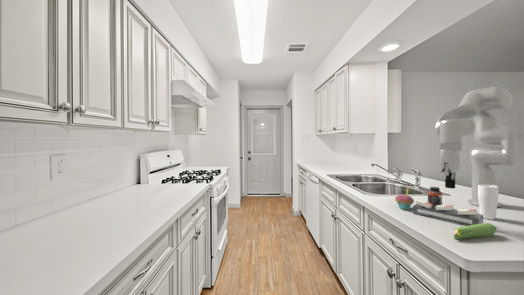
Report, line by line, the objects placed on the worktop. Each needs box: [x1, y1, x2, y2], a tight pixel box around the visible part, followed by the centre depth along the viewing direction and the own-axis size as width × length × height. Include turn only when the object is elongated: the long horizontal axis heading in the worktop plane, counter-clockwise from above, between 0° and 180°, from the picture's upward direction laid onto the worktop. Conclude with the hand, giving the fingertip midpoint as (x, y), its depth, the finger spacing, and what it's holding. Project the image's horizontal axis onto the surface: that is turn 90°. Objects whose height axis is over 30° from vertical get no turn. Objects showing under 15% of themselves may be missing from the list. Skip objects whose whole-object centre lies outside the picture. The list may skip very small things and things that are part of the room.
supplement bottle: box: [427, 186, 443, 206], centre depth 120 cm, size 6×6×11 cm
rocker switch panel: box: [412, 203, 484, 227], centre depth 105 cm, size 8×24×4 cm, turn 35°
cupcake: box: [394, 186, 415, 211], centre depth 121 cm, size 9×8×12 cm
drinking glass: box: [478, 184, 500, 221], centre depth 104 cm, size 7×7×15 cm
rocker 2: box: [435, 204, 454, 210], centre depth 104 cm, size 3×6×2 cm, turn 35°
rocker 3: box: [457, 208, 478, 215], centre depth 97 cm, size 3×6×2 cm, turn 35°
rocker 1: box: [415, 199, 432, 208], centre depth 110 cm, size 3×6×2 cm, turn 35°
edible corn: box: [452, 222, 497, 240], centre depth 86 cm, size 5×20×5 cm
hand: (450, 187), depth 101 cm, fingers closed
